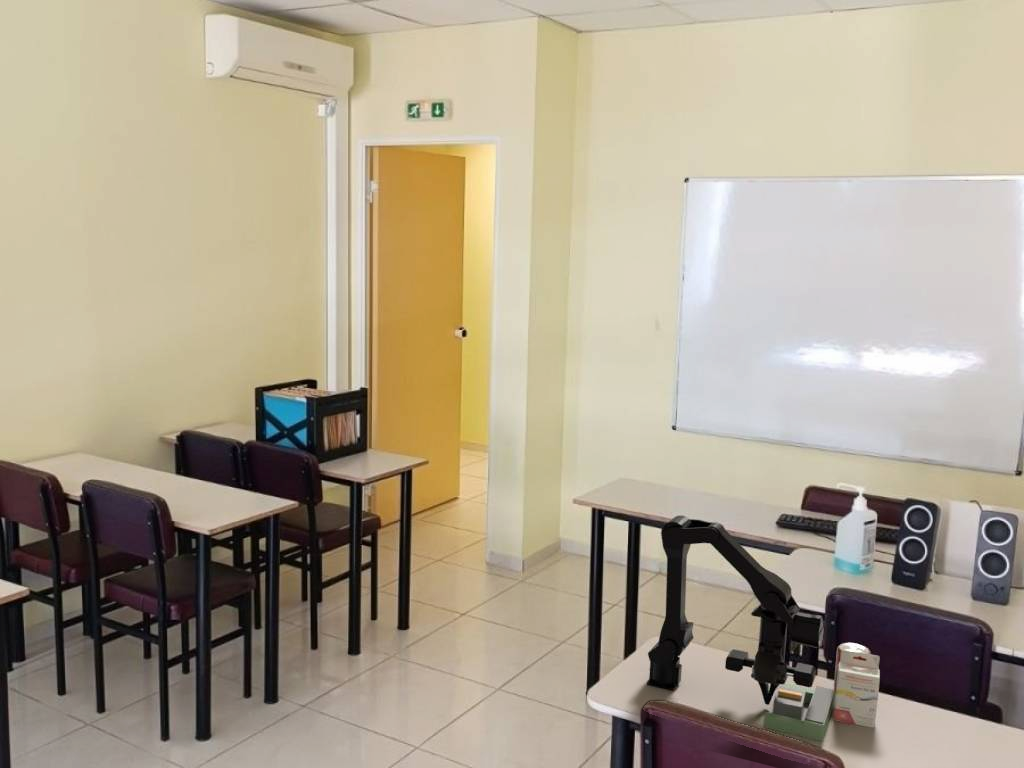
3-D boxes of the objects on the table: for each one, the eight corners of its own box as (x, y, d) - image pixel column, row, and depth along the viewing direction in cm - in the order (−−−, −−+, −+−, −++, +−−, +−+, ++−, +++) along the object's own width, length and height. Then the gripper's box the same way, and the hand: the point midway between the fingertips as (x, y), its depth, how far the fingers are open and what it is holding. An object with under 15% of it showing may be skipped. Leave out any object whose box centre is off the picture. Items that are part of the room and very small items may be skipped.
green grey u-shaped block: (764, 727, 206) (765, 710, 206) (778, 692, 222) (780, 677, 222) (822, 741, 201) (823, 724, 201) (833, 704, 217) (834, 688, 217)
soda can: (868, 708, 216) (873, 657, 215) (835, 703, 218) (839, 653, 216) (863, 693, 223) (868, 644, 222) (831, 689, 225) (835, 640, 223)
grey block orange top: (772, 716, 212) (774, 697, 211) (776, 700, 219) (778, 681, 218) (800, 722, 210) (802, 702, 209) (804, 706, 217) (805, 687, 216)
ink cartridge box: (833, 721, 210) (839, 657, 208) (833, 710, 215) (839, 648, 212) (875, 728, 207) (881, 664, 205) (874, 718, 212) (880, 654, 210)
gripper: (721, 642, 209) (717, 709, 211) (811, 660, 201) (805, 730, 203) (733, 624, 219) (728, 688, 221) (818, 640, 211) (812, 707, 213)
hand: (767, 703), depth 215 cm, fingers closed
